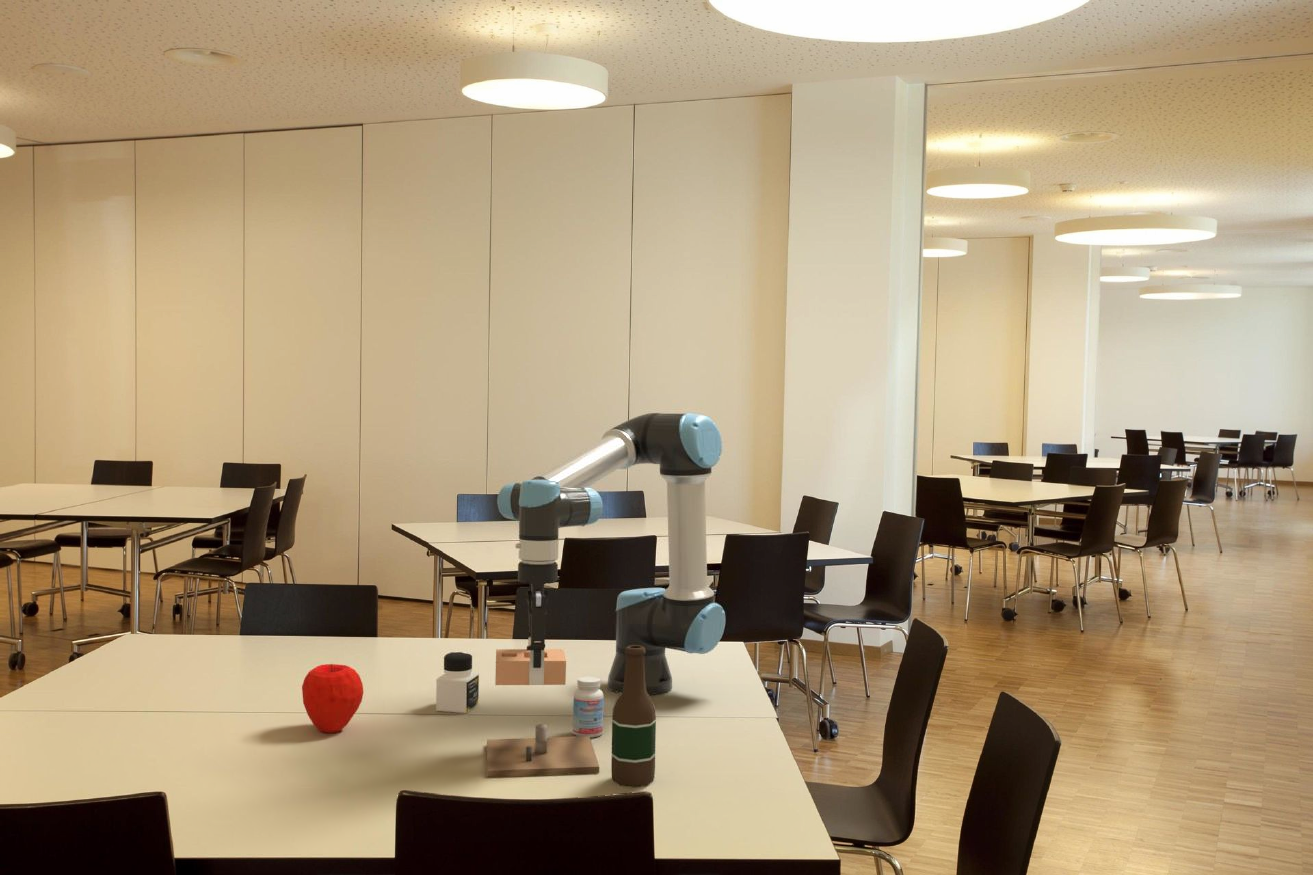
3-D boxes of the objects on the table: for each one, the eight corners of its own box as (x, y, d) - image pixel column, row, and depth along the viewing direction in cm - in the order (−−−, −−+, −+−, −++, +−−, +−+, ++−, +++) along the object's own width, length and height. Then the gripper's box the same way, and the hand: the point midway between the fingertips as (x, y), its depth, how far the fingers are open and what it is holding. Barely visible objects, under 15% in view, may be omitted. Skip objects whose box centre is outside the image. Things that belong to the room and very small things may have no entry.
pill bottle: (580, 740, 219) (581, 684, 218) (568, 731, 224) (568, 676, 224) (607, 736, 221) (608, 680, 221) (595, 728, 227) (596, 673, 226)
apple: (374, 725, 226) (374, 660, 226) (340, 741, 215) (340, 673, 215) (325, 718, 230) (325, 655, 230) (289, 734, 219) (289, 667, 218)
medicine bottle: (467, 713, 235) (467, 658, 235) (435, 711, 237) (436, 655, 236) (479, 704, 242) (479, 650, 242) (448, 702, 244) (448, 648, 243)
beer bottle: (610, 772, 200) (612, 641, 199) (653, 772, 201) (655, 641, 200) (612, 788, 192) (614, 651, 191) (656, 787, 193) (659, 651, 192)
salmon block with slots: (562, 671, 216) (563, 649, 216) (565, 684, 206) (566, 660, 206) (495, 672, 214) (496, 649, 214) (495, 685, 204) (495, 661, 204)
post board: (589, 742, 217) (589, 710, 217) (599, 772, 200) (599, 739, 200) (486, 745, 214) (487, 713, 214) (487, 777, 197) (487, 742, 196)
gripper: (517, 553, 221) (515, 663, 221) (519, 569, 198) (516, 692, 199) (555, 553, 222) (552, 663, 222) (561, 569, 199) (558, 692, 200)
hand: (535, 677), depth 210 cm, fingers closed on salmon block with slots, 10 cm apart
